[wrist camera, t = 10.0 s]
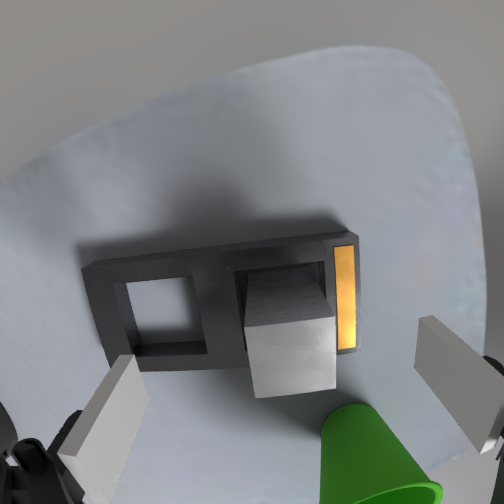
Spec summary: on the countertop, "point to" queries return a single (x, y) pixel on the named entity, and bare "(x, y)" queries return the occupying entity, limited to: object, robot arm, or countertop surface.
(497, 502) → the robot arm
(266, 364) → the gray squarish block
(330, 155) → the countertop surface
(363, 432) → the cup
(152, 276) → the dark grey flat frame
